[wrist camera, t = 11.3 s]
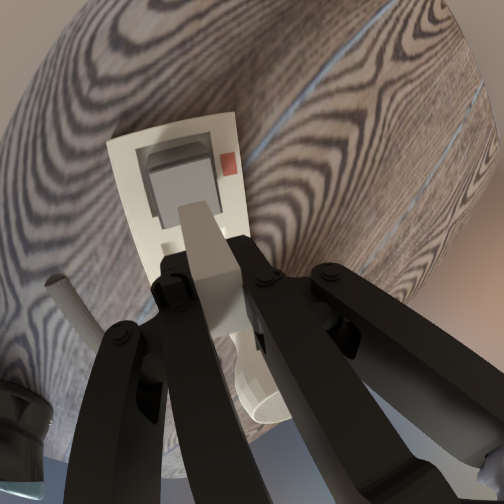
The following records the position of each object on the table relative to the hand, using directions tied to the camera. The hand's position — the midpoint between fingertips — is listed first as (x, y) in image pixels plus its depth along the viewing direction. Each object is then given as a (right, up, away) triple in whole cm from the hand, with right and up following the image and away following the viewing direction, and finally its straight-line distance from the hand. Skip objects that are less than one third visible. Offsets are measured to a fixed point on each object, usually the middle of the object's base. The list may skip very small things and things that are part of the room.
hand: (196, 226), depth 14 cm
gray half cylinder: (-20, -12, +18) cm, 29 cm away
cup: (+3, -11, +25) cm, 28 cm away
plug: (-4, +7, +11) cm, 14 cm away
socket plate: (-4, +3, +14) cm, 15 cm away
